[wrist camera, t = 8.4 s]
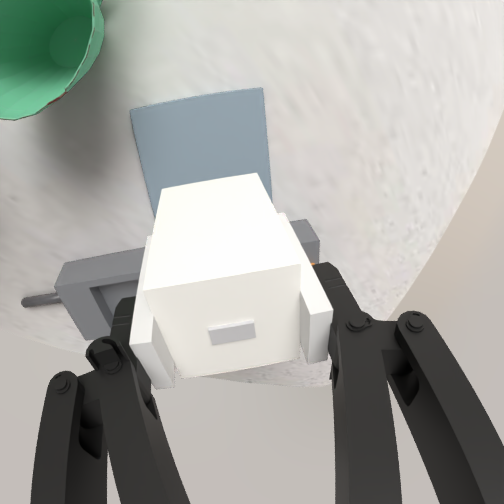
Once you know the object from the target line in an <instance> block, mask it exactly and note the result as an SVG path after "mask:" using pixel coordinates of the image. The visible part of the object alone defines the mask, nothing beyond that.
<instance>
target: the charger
mask: <svg viewBox="0 0 504 504" xmlns="http://www.w3.org/2000/svg"><path fill="white" fill-rule="evenodd" d="M300 290H301V263H300V261H299V258H298V256H297V254H296V252H295V250H294V248H293V246H292V244H291V242H290V239H289V237H288V235H287V233H286V231H285V229H284V227H283V225H282V223H281V221H280V219H279V217H278V214H277V212H276V210H275V208H274V206H273V204H272V202H271V200H270V198H269V196H268V194H267V192H266V190H265V188H264V186H263V184H262V182H261V180H260V178H259V176H258V174H257V173H252V174H245V175H238V176H232V177H226V178H220V179H214V180H208V181H202V182H196V183H191V184H185V185H180V186H175V187H169V188H164V189H162V191H161V195H160V200H159V205H158V209H157V214H156V219H155V224H154V229H153V234H152V239H151V245H150V250H149V256H148V261H147V267H146V273H145V280H144V286H143V292H144V295H145V297H146V300H147V302H148V305H149V307H150V310H151V312H152V314H153V315H154V317H155V320H156V322H157V324H158V327H159V329H160V331H161V334H162V336H163V338H164V340H165V343H166V345H167V347H168V349H169V352H170V354H171V356H172V358H173V360H174V364H175V366H176V368H177V370H178V372H179V374H180V376H181V378H182V379H183V378H191V377H199V376H206V375H213V374H219V373H225V372H232V371H238V370H243V369H249V368H255V367H260V366H265V365H270V364H275V363H280V362H285V361H290V360H295V359H299V358H300Z"/></svg>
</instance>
